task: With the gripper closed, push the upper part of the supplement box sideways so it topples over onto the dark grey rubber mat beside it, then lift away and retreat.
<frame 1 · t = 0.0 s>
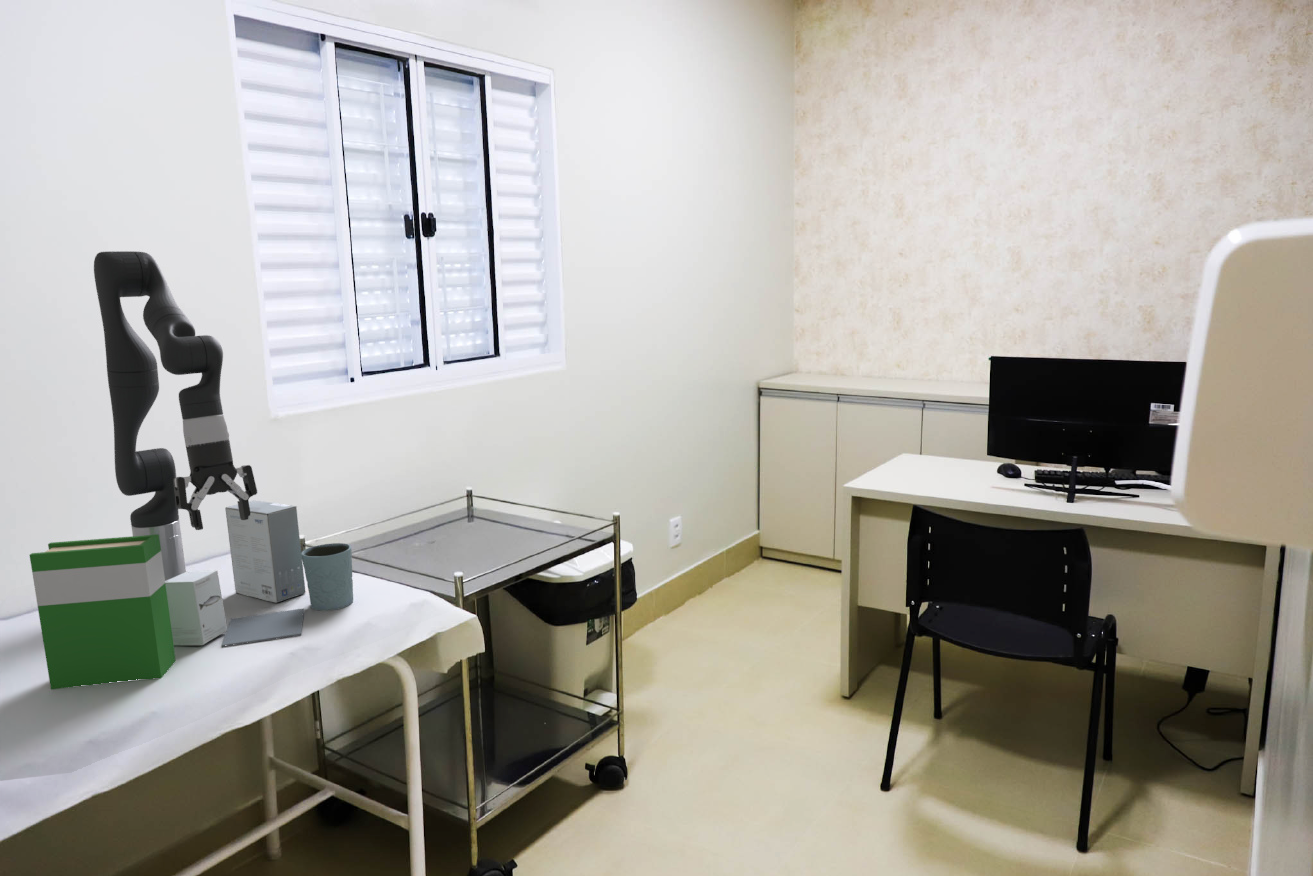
hand: (222, 524, 173), 22 cm above the table, tool pointing down, fingers open, 8 cm apart
supplement box: (200, 639, 176), on the table, touching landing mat
hardback book: (115, 675, 161), on the table
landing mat: (265, 627, 181), on the table
blue-grey plant pot: (331, 604, 193), on the table
hard drive box: (270, 594, 201), on the table
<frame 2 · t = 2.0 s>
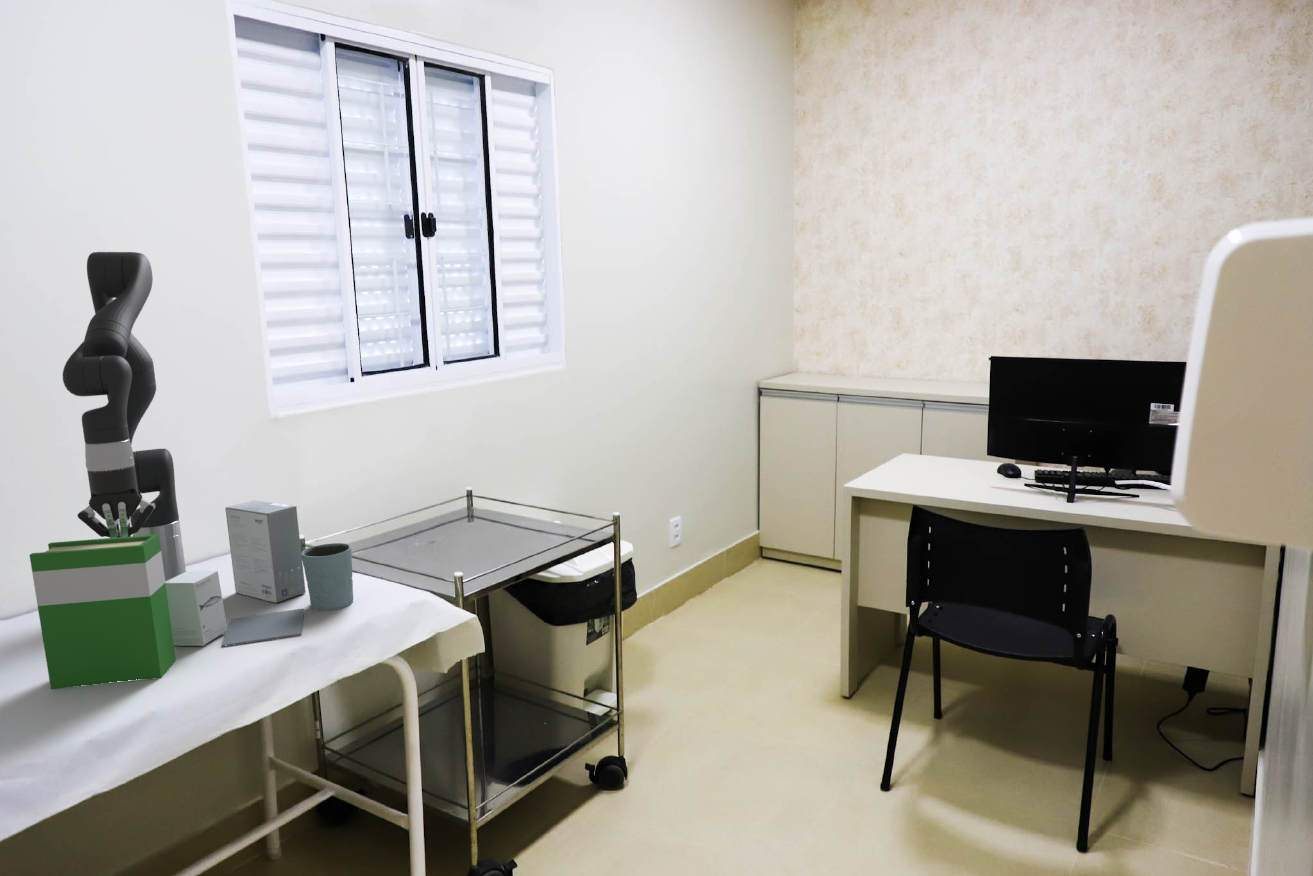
hand: (123, 556, 169), 18 cm above the table, tool pointing down, fingers closed
nothing on the table moved.
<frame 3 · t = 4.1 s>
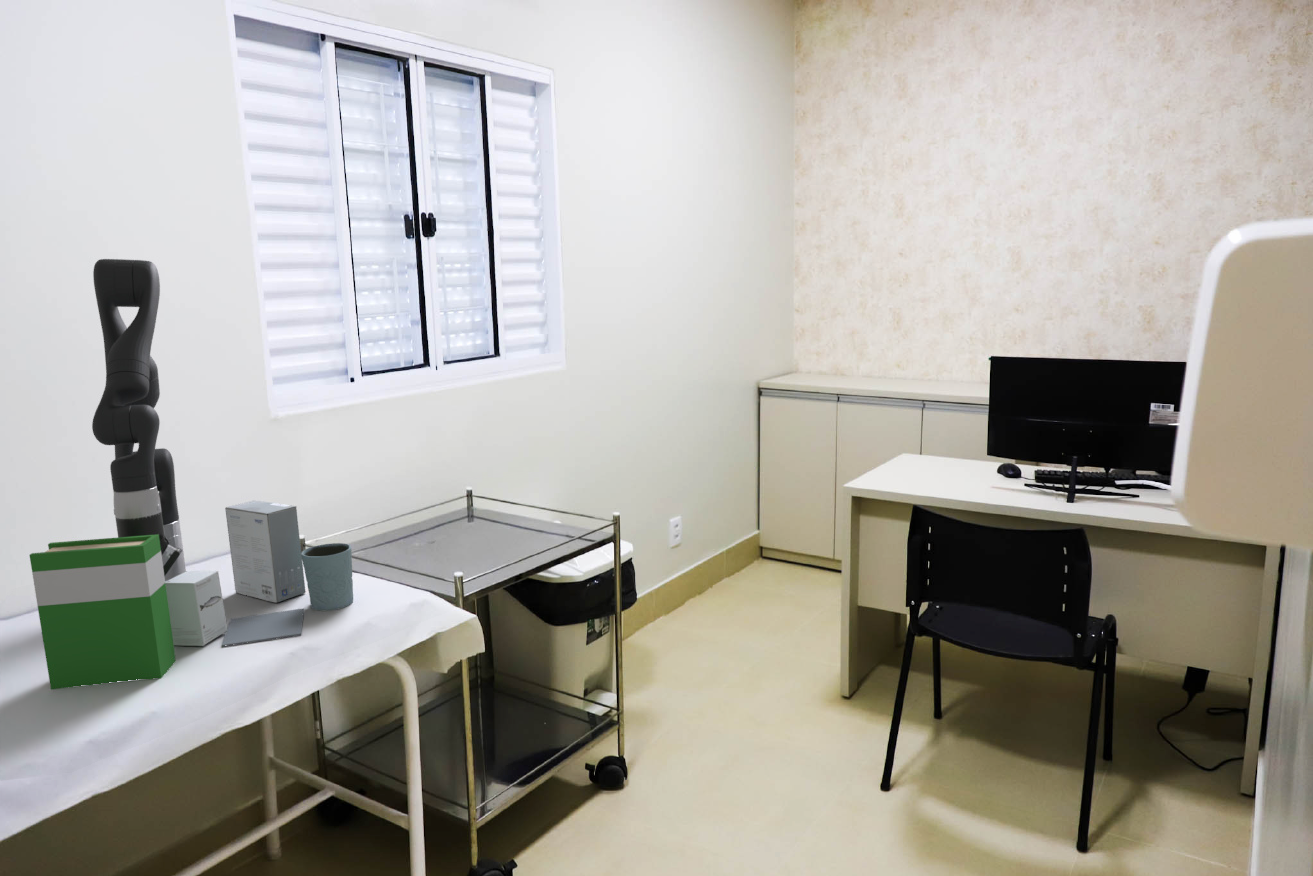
hand: (150, 600, 171), 9 cm above the table, tool pointing down, fingers closed
supplement box: (200, 639, 176), on the table, touching gripper, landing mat
everything else where it was.
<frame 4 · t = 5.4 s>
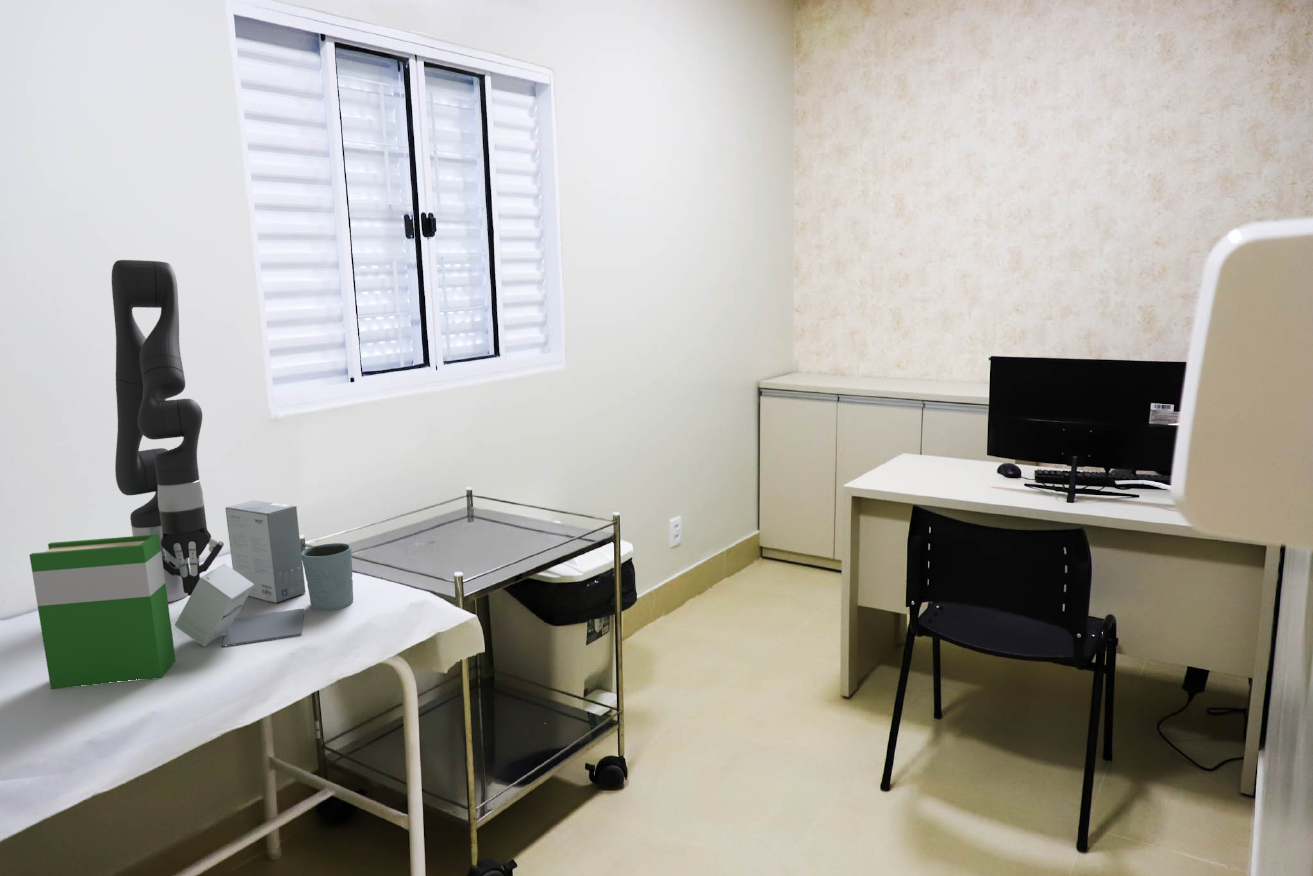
hand: (192, 594, 173), 10 cm above the table, tool pointing down, fingers closed
supplement box: (201, 629, 175), point 2 cm above the table, touching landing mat
everything else where it was.
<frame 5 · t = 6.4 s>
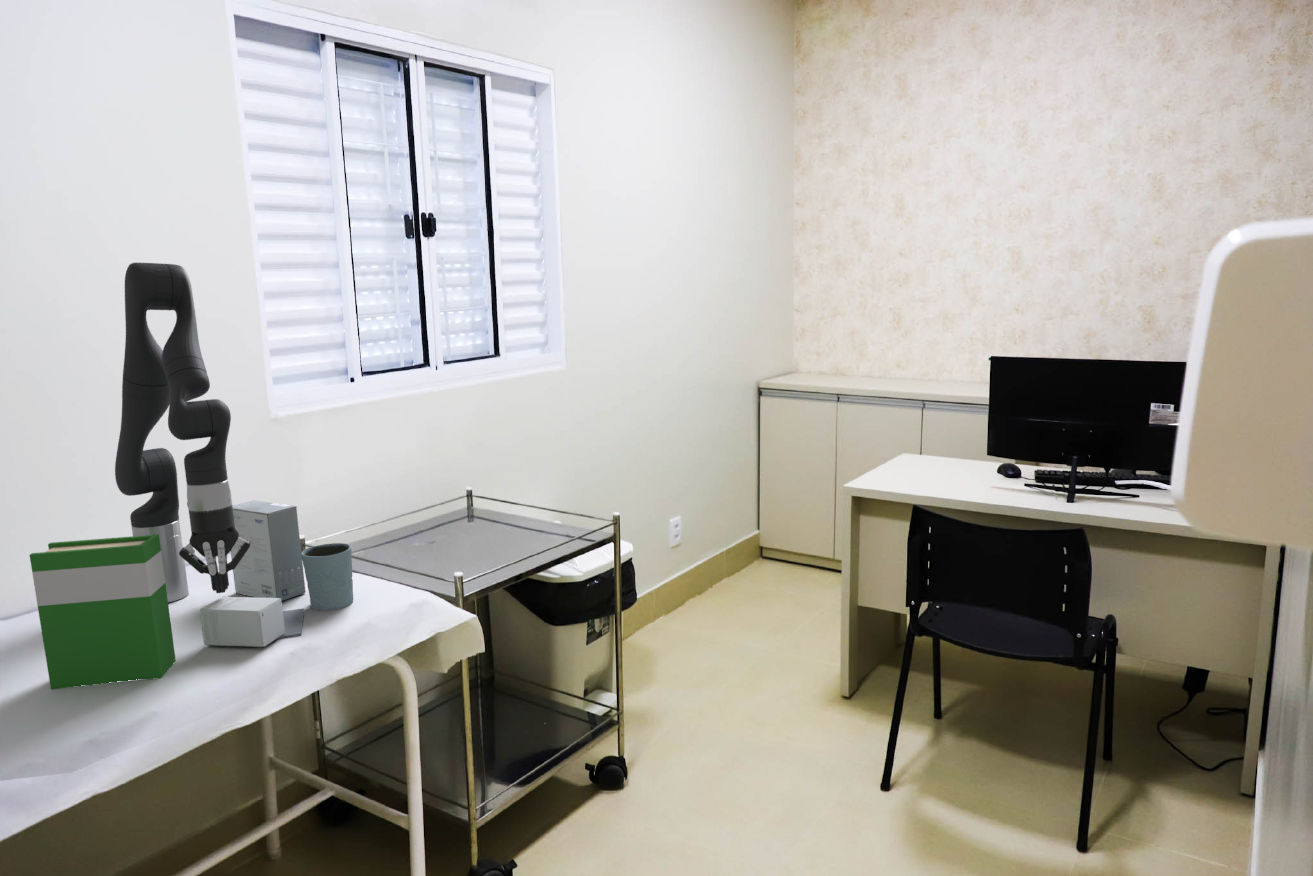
hand: (221, 591, 175), 9 cm above the table, tool pointing down, fingers closed
supplement box: (212, 620, 174), point 4 cm above the table, touching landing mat
everything else where it was.
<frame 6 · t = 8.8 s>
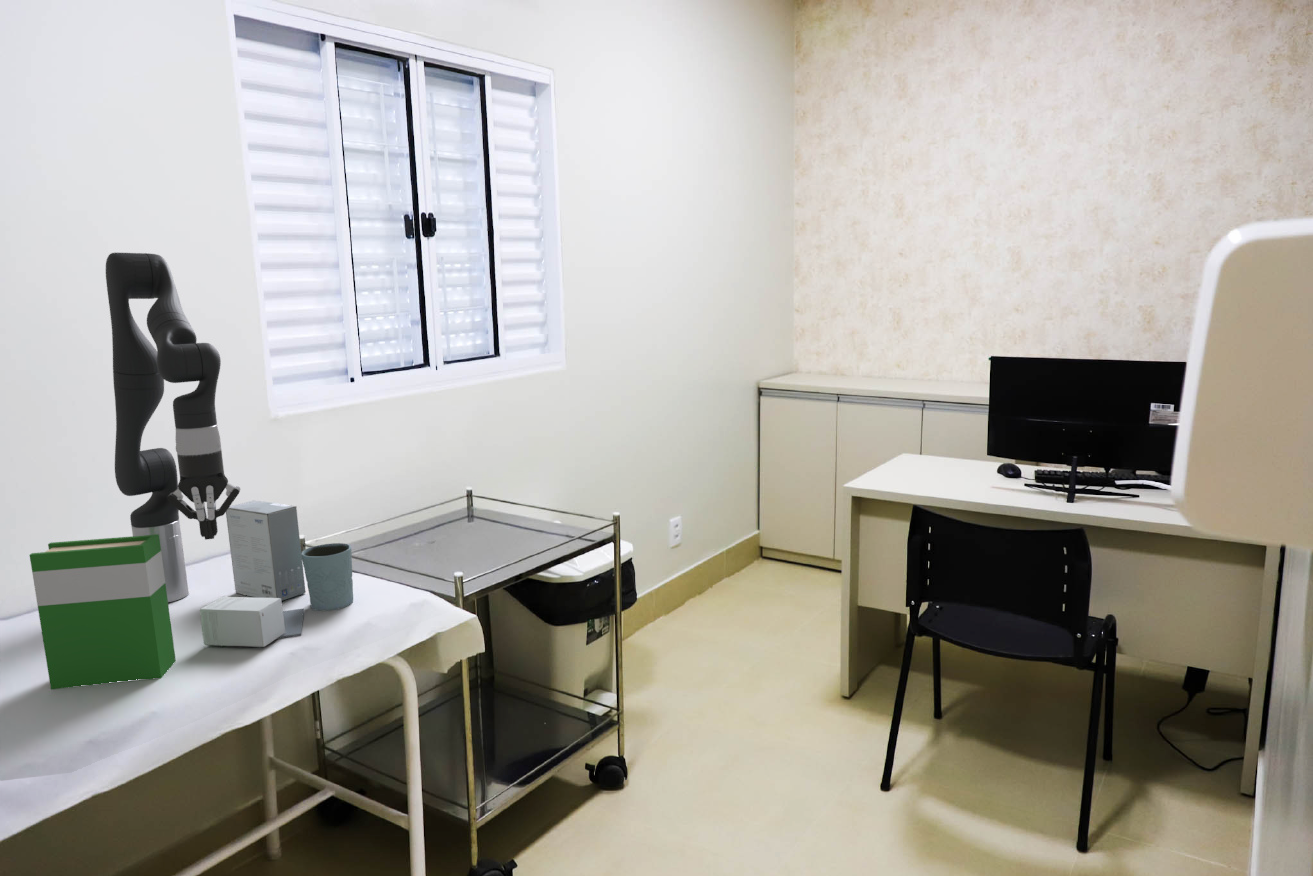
hand: (209, 538, 174), 20 cm above the table, tool pointing down, fingers closed
nothing on the table moved.
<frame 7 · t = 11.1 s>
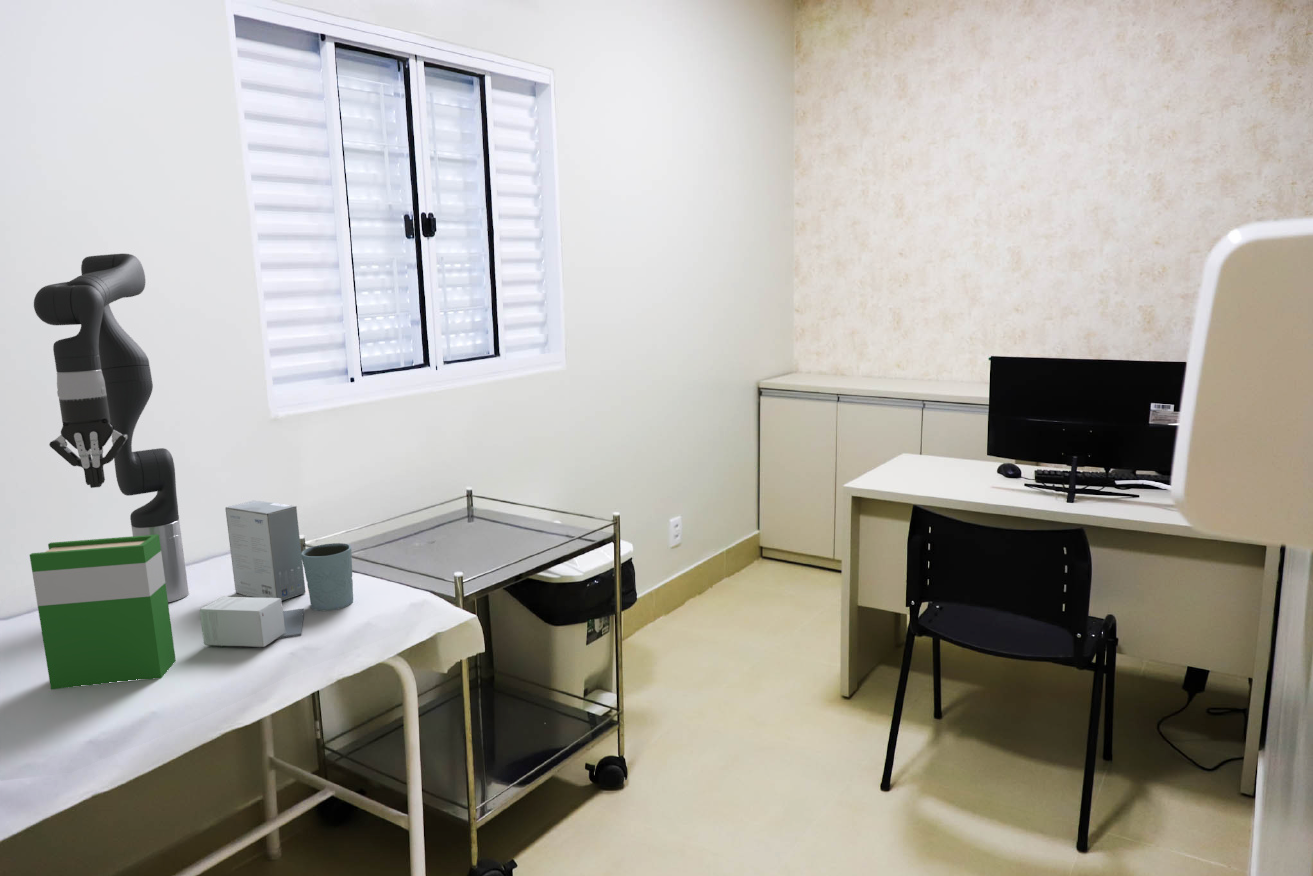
hand: (96, 486, 170), 31 cm above the table, tool pointing down, fingers closed
nothing on the table moved.
at the end: supplement box tilted 90°; supplement box touching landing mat; supplement box inside the target area (5.4 cm from its centre), point 4.0 cm above the table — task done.
